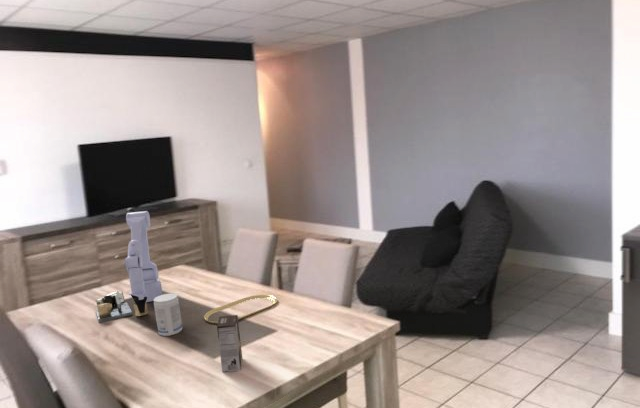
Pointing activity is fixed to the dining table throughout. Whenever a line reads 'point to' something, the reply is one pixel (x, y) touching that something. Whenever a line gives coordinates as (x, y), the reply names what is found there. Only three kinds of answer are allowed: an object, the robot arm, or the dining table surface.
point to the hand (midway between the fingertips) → (141, 310)
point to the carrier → (112, 311)
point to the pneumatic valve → (112, 298)
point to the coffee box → (229, 343)
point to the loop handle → (238, 303)
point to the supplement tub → (168, 314)
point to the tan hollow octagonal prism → (138, 310)
